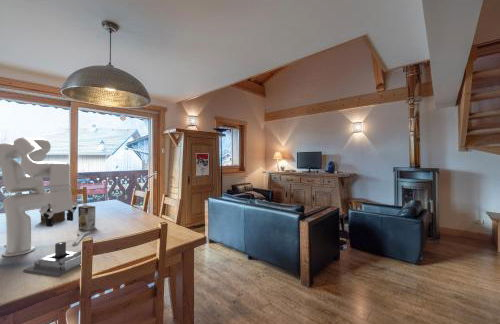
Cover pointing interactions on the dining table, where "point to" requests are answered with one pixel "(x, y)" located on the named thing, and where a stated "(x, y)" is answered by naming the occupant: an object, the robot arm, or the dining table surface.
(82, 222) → the coffee box
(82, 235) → the adjustable wrench
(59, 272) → the charcoal mat
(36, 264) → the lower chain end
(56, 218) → the wooden container
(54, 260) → the white grey box
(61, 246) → the dark grey block
